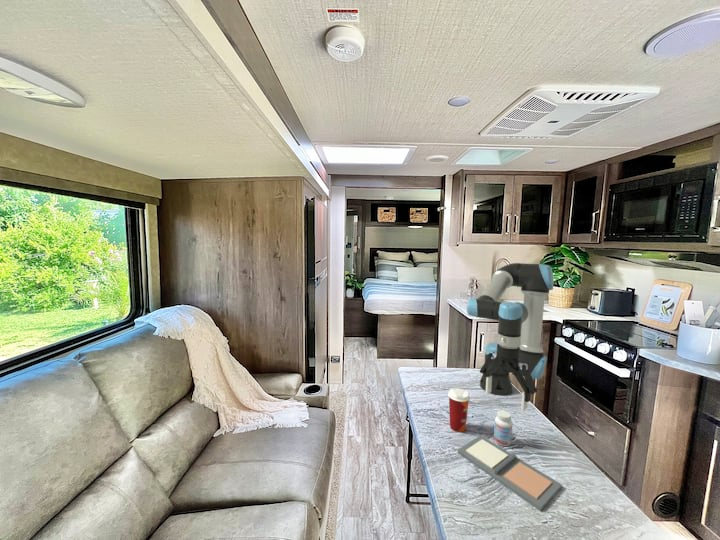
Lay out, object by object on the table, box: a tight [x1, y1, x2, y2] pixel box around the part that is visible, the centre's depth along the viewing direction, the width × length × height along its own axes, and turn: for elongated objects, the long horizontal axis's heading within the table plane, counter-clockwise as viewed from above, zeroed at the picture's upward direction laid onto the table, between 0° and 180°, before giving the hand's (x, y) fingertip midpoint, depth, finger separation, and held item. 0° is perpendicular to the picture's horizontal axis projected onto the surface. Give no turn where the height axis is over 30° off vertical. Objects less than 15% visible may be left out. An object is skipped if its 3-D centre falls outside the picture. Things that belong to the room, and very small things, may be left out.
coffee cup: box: [447, 387, 470, 433], centre depth 120 cm, size 8×8×15 cm
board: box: [457, 435, 563, 512], centre depth 100 cm, size 14×28×2 cm, turn 35°
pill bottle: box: [493, 409, 513, 447], centre depth 112 cm, size 6×6×11 cm
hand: (505, 400), depth 111 cm, fingers open, 13 cm apart
